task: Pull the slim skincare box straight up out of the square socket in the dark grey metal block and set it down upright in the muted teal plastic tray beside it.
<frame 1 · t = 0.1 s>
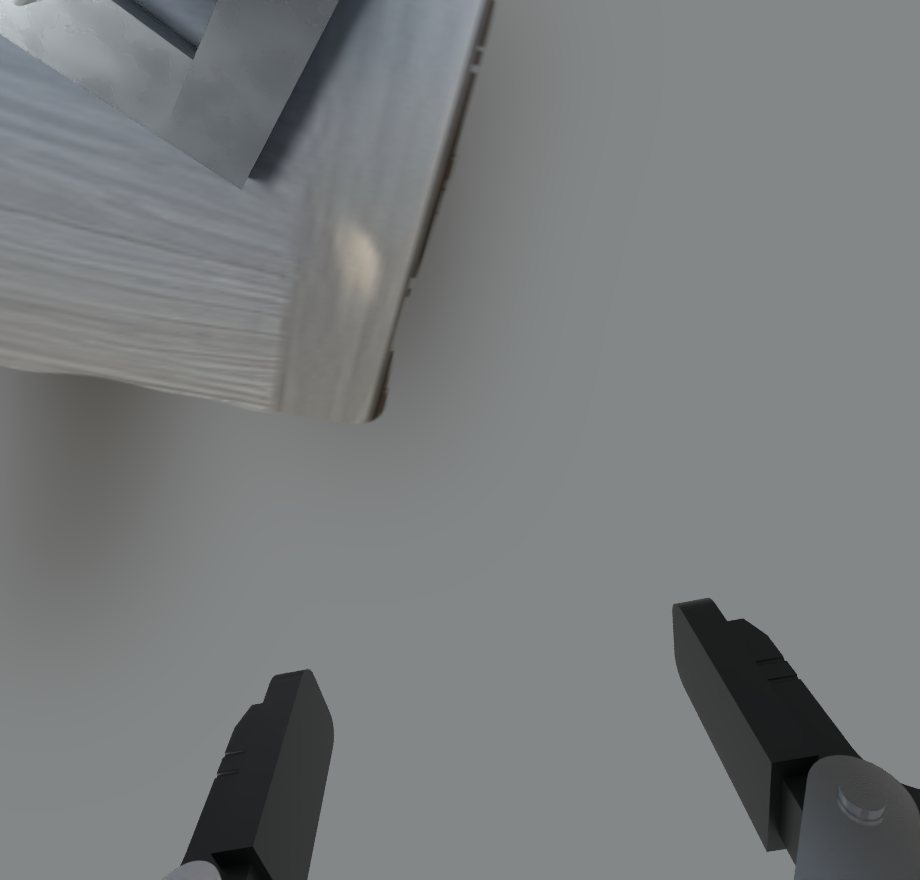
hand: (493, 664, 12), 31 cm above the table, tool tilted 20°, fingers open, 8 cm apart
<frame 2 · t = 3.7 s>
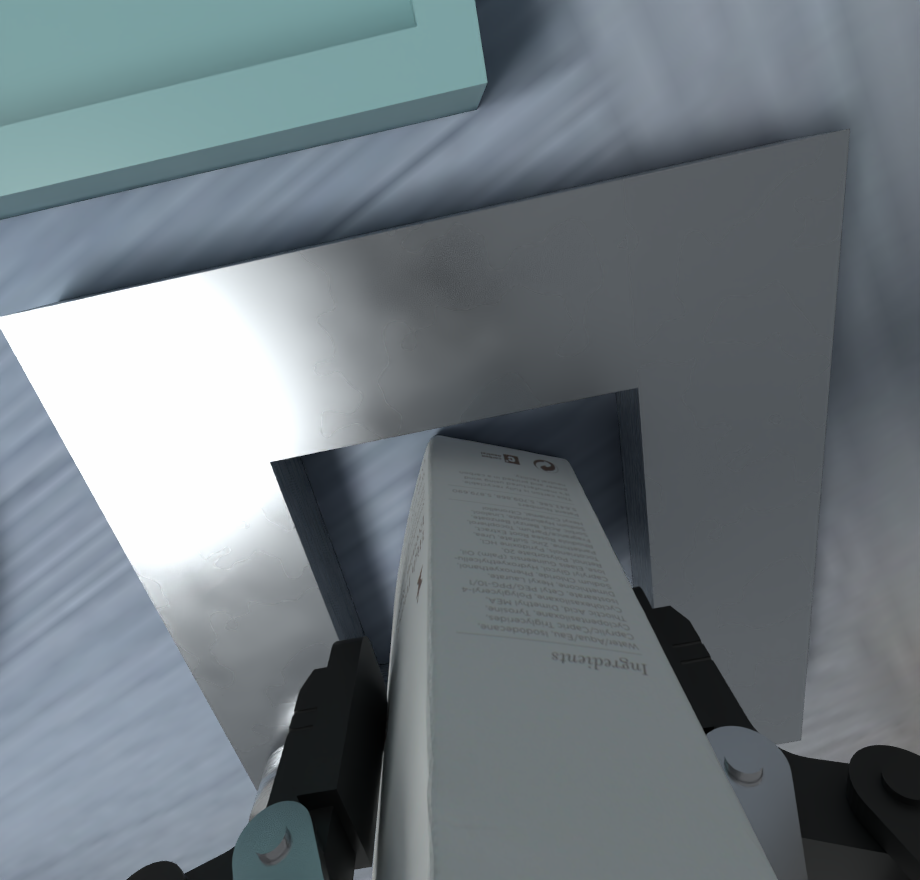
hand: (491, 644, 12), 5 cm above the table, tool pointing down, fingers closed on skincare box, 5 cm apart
socket block: (479, 533, 17), on the table
skincare box: (480, 529, 17), resting in socket block, touching gripper
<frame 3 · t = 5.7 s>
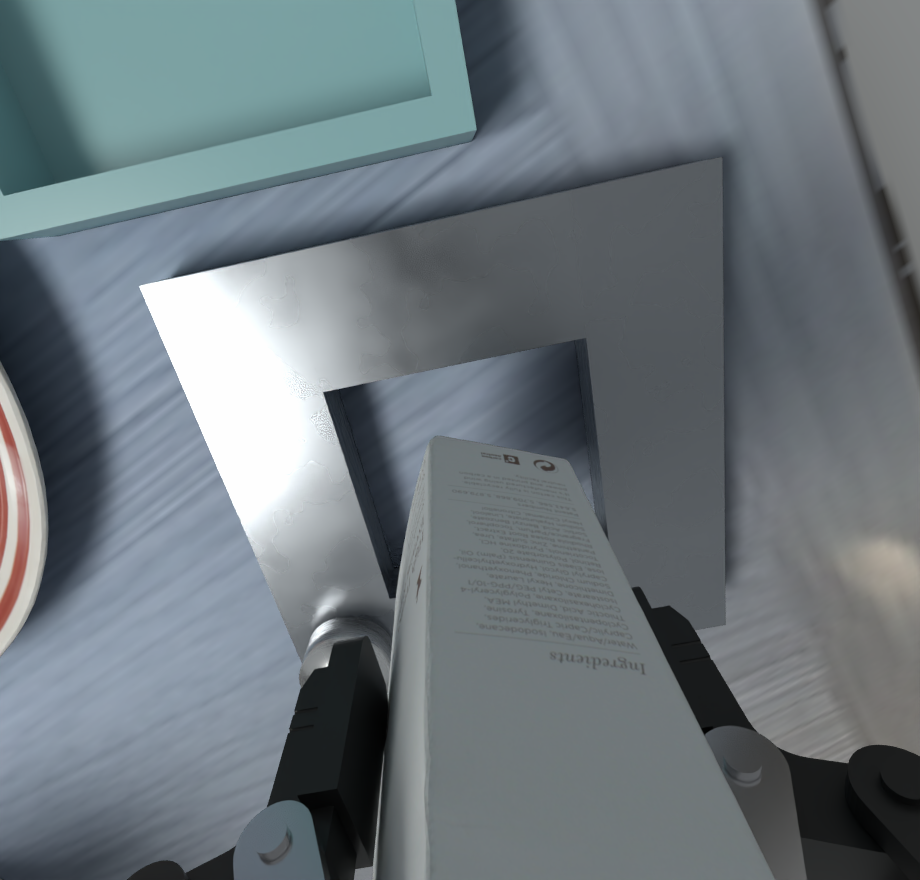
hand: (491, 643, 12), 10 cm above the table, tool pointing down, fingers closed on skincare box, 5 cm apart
socket block: (475, 458, 22), on the table
skincare box: (480, 530, 17), point 5 cm above the table, touching gripper
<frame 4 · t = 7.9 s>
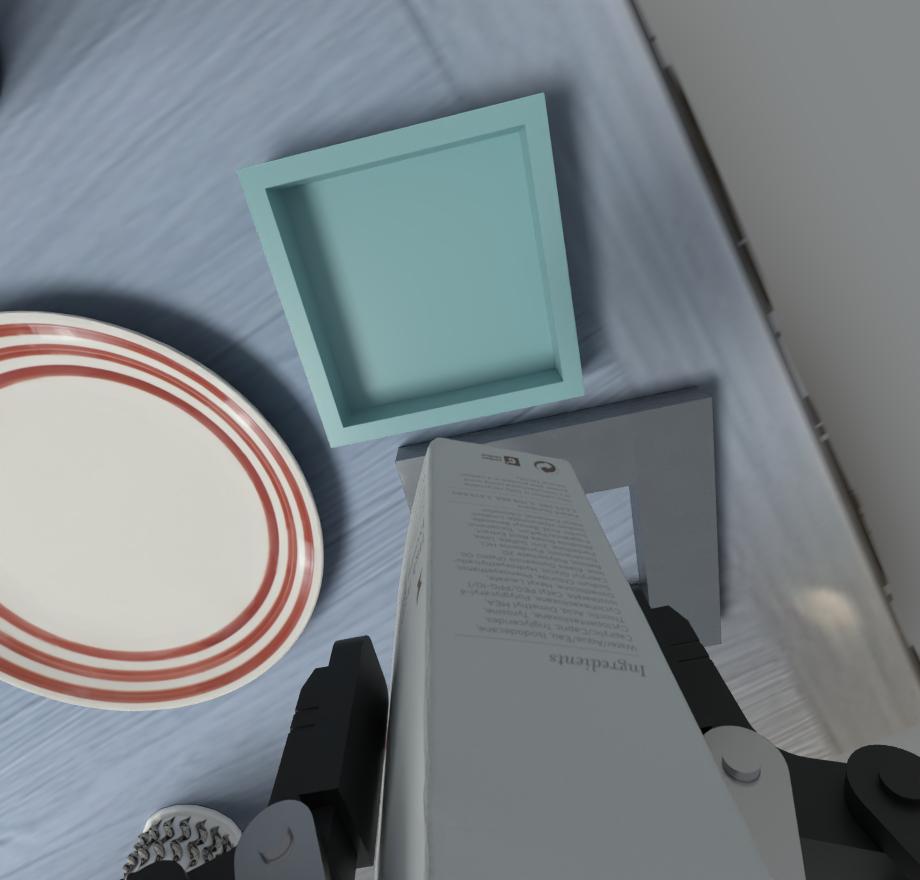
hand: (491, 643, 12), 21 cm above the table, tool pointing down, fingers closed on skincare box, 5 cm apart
dinner plate: (120, 516, 35), on the table
socket block: (565, 542, 36), on the table
tray: (427, 284, 29), on the table
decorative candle: (195, 833, 48), on the table
skincare box: (482, 531, 17), point 16 cm above the table, touching gripper
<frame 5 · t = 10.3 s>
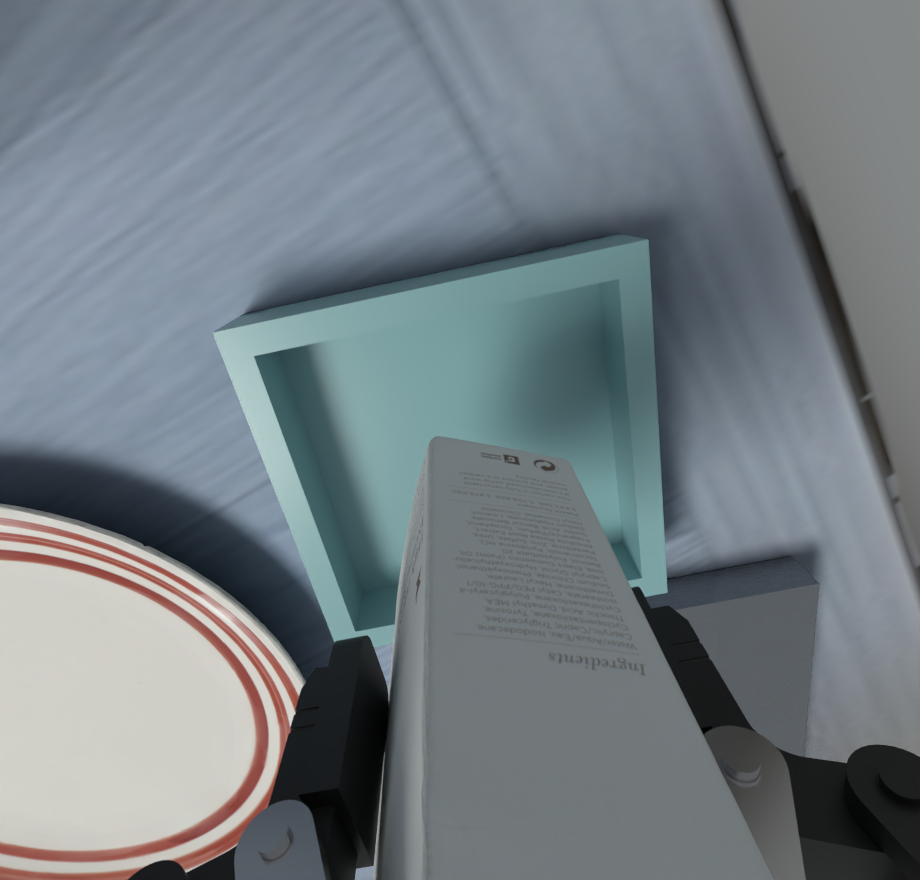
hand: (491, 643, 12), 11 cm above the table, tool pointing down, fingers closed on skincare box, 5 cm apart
dinner plate: (67, 700, 28), on the table
socket block: (618, 719, 30), on the table
tray: (465, 445, 23), on the table
skincare box: (481, 530, 17), point 6 cm above the table, touching gripper
when the fingers open (6 cm above the table, at t = 12.1 s): skincare box drops 1 cm, resting on tray.
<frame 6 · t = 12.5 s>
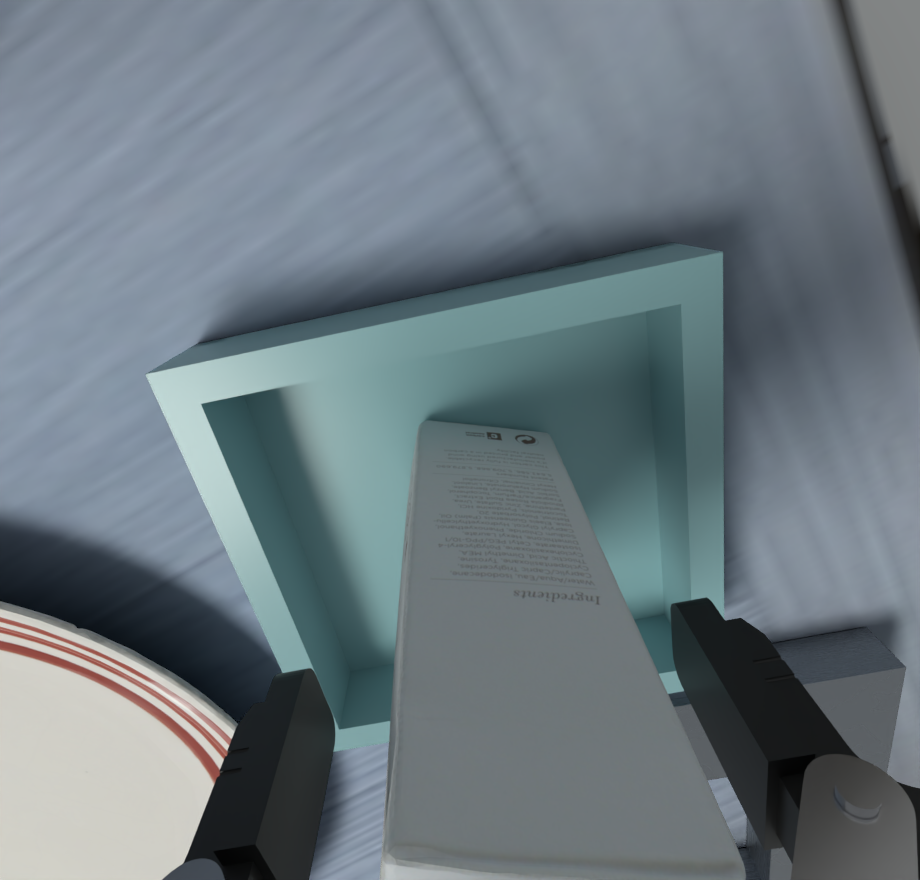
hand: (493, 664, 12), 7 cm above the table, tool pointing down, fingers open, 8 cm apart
dinner plate: (6, 785, 24), on the table
socket block: (651, 806, 25), on the table
tray: (474, 501, 18), on the table
skincare box: (476, 505, 18), resting on tray
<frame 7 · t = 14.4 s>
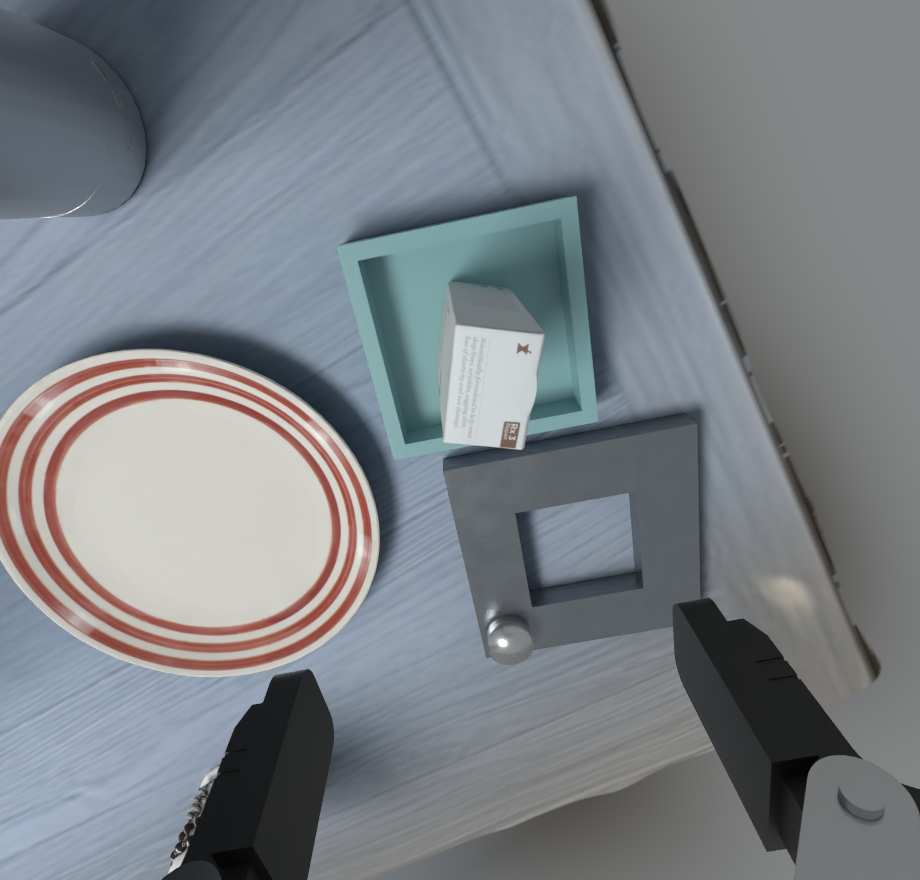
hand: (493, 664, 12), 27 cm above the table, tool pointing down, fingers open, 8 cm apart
dinner plate: (205, 513, 42), on the table
socket block: (575, 537, 43), on the table
tray: (474, 330, 36), on the table
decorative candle: (245, 787, 55), on the table
skincare box: (474, 330, 36), resting on tray
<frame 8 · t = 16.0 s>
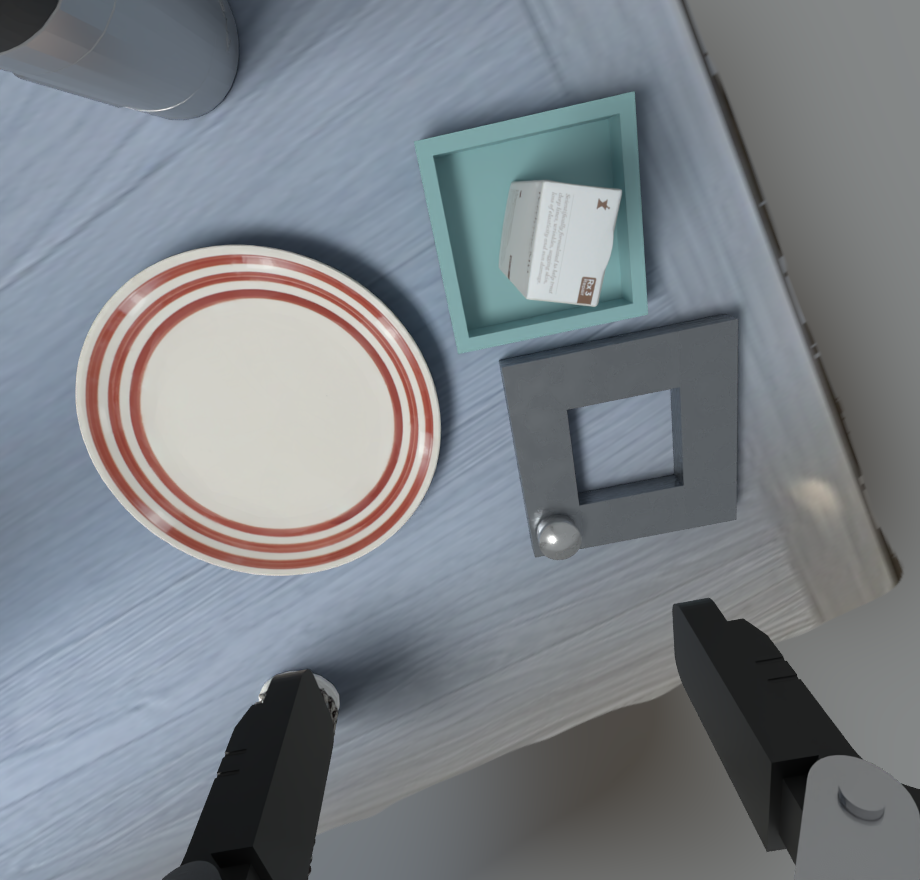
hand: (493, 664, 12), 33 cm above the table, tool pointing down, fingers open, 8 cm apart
dinner plate: (275, 416, 45), on the table
socket block: (619, 439, 46), on the table
tray: (531, 231, 39), on the table
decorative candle: (300, 698, 58), on the table
skincare box: (533, 231, 39), resting on tray
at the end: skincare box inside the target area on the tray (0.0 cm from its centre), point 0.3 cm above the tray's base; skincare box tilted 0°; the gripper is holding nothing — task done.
